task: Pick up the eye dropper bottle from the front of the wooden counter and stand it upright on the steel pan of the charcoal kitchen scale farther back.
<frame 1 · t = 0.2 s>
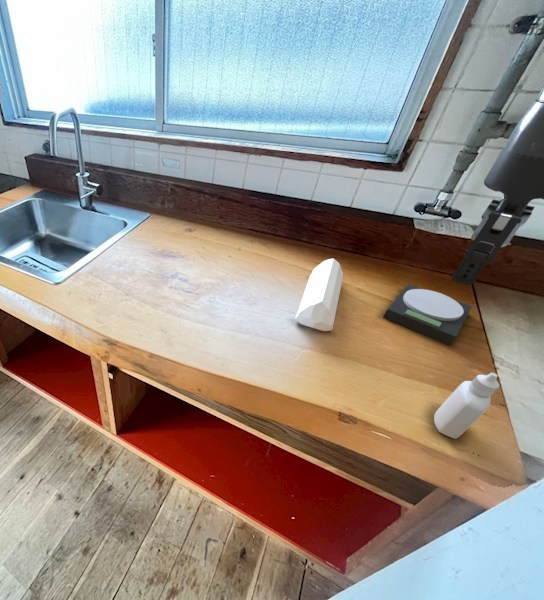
hand: (467, 270, 46), 22 cm above the worktop, tool pointing down, fingers open, 8 cm apart
eye dropper bottle: (446, 424, 51), on the worktop
chamfered white bar: (318, 303, 76), on the worktop
kitchen scale: (424, 315, 71), on the worktop
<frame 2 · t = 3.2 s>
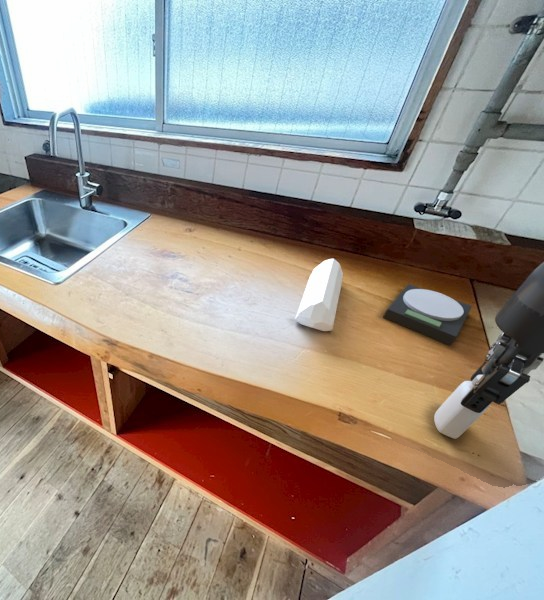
hand: (474, 394, 46), 8 cm above the worktop, tool pointing down, fingers closed on eye dropper bottle, 5 cm apart
eye dropper bottle: (446, 424, 51), on the worktop, touching gripper
everything else where it was.
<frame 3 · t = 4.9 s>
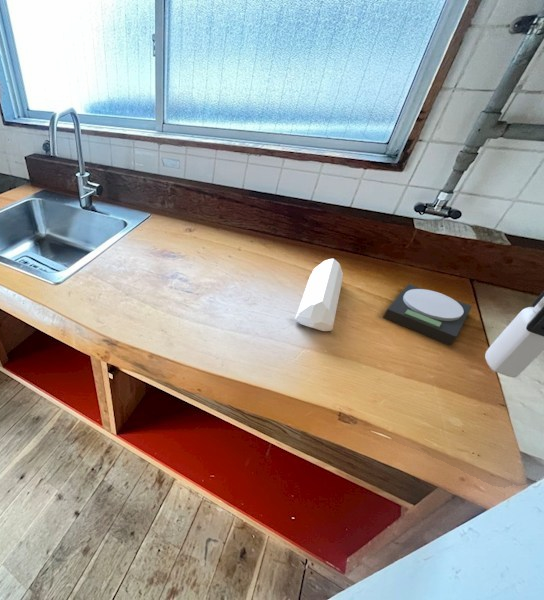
hand: (540, 320, 38), 21 cm above the worktop, tool pointing down, fingers closed on eye dropper bottle, 5 cm apart
eye dropper bottle: (500, 364, 43), point 14 cm above the worktop, touching gripper
everything else where it was.
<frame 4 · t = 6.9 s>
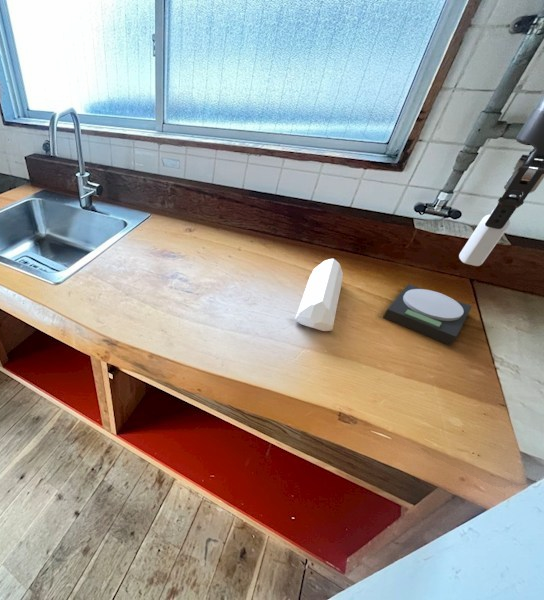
hand: (496, 221, 55), 24 cm above the worktop, tool pointing down, fingers closed on eye dropper bottle, 5 cm apart
eye dropper bottle: (469, 260, 59), point 16 cm above the worktop, touching gripper
everything else where it was.
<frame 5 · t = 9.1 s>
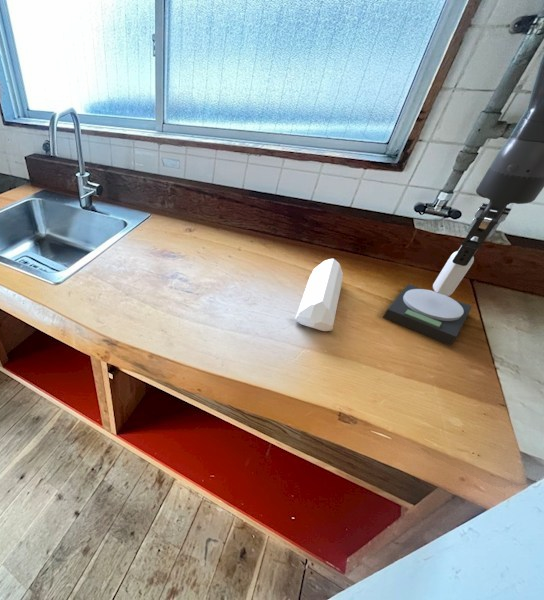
hand: (463, 257, 63), 14 cm above the worktop, tool pointing down, fingers closed on eye dropper bottle, 5 cm apart
eye dropper bottle: (441, 289, 68), point 7 cm above the worktop, touching gripper
everything else where it was.
when the fingers open (11 cm above the worktop, at t = 10.6 s): eye dropper bottle stays where it is, resting on kitchen scale.
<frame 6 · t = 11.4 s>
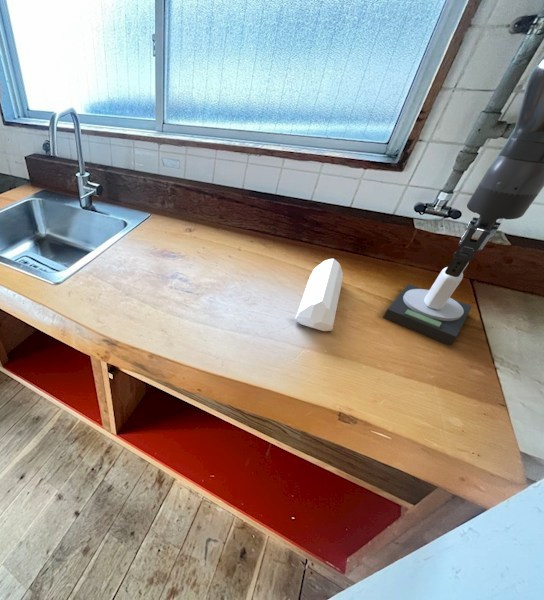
hand: (456, 266, 64), 12 cm above the worktop, tool pointing down, fingers open, 8 cm apart
eye dropper bottle: (432, 303, 70), point 3 cm above the worktop, touching kitchen scale
everything else where it was.
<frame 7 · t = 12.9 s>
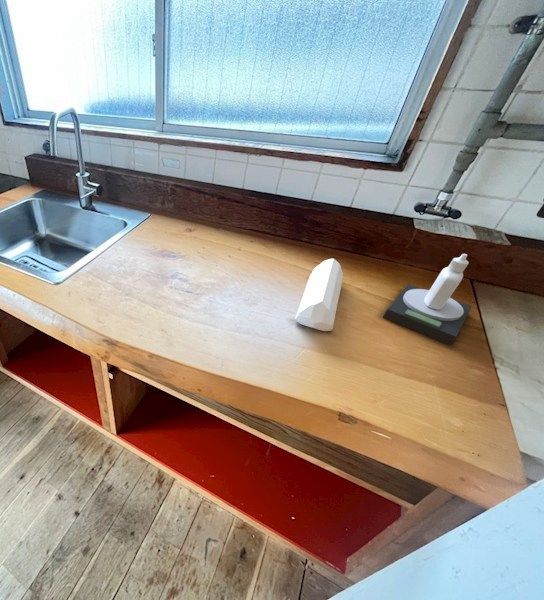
nothing on the worktop moved.
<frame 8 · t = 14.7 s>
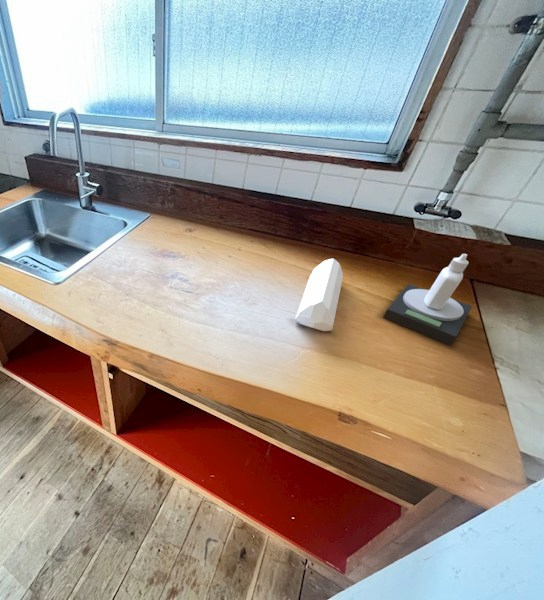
nothing on the worktop moved.
at the end: eye dropper bottle inside the target area on the kitchen scale (0.1 cm from its centre), point 3.0 cm above the kitchen scale's base; eye dropper bottle tilted 0°; the gripper is holding nothing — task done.
